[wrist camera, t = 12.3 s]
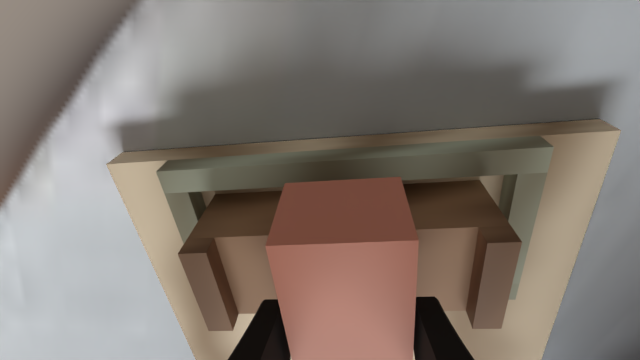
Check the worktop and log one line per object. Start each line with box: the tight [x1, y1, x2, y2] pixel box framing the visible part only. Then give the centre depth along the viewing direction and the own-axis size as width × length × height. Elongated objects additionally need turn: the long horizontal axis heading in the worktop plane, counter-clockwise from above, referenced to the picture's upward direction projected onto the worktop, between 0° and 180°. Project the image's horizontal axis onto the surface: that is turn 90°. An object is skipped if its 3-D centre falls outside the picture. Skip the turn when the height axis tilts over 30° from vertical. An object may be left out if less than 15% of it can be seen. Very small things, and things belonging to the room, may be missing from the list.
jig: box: [106, 119, 621, 360], centre depth 17 cm, size 20×16×2 cm
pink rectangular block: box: [265, 177, 419, 360], centre depth 11 cm, size 4×8×3 cm, turn 6°
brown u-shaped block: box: [178, 180, 522, 331], centre depth 14 cm, size 11×4×4 cm, turn 96°
